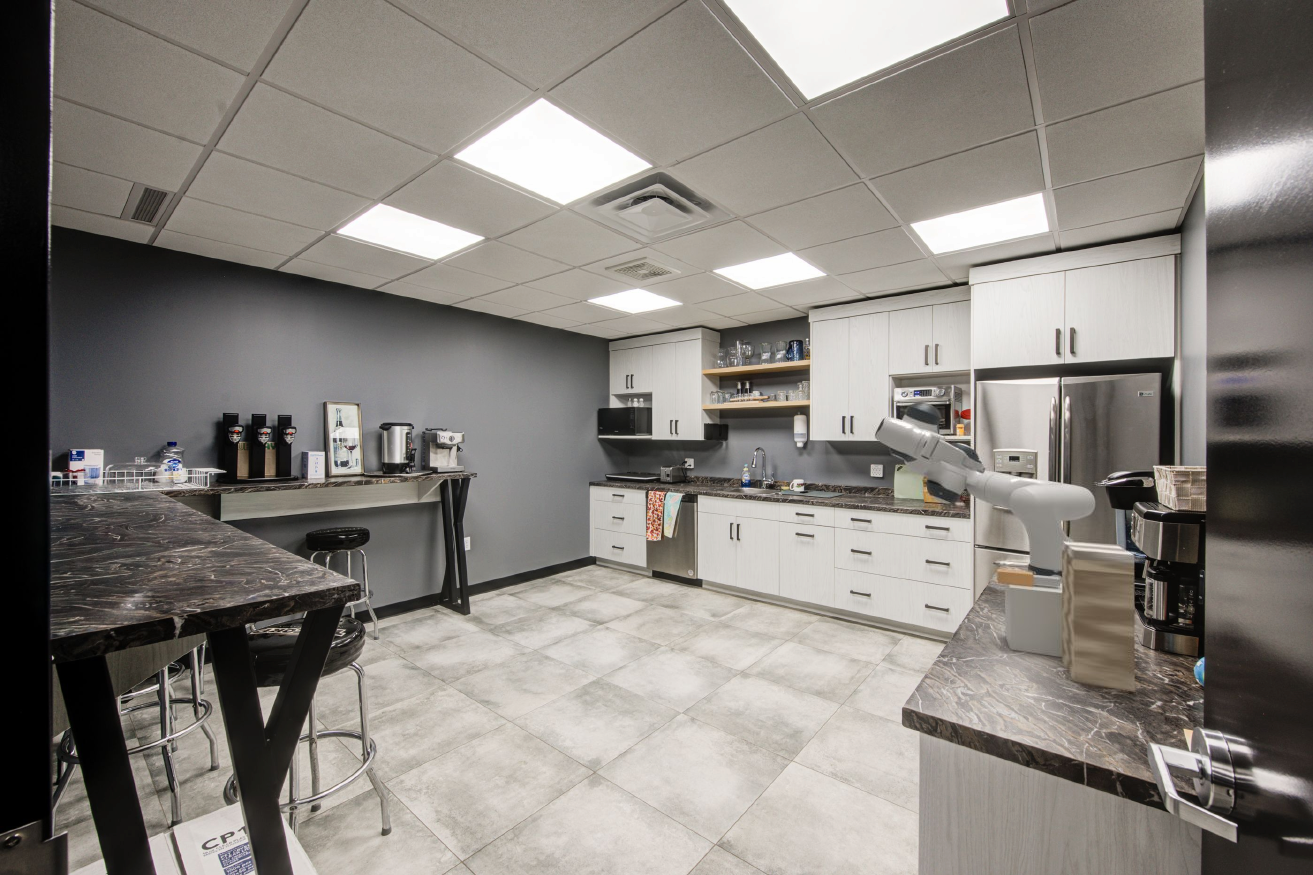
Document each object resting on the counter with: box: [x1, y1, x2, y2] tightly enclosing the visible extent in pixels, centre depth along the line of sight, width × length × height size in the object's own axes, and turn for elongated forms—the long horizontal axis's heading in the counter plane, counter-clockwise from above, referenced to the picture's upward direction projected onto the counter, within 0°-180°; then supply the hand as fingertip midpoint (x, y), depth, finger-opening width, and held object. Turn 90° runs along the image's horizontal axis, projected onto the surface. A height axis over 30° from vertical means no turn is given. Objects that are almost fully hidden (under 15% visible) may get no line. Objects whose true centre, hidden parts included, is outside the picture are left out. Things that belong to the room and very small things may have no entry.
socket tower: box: [1061, 541, 1136, 693], centre depth 119 cm, size 12×10×28 cm
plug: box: [996, 568, 1060, 587], centre depth 136 cm, size 3×13×3 cm, turn 63°
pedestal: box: [1004, 584, 1062, 658], centre depth 135 cm, size 10×14×16 cm
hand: (983, 469), depth 145 cm, fingers open, 8 cm apart
